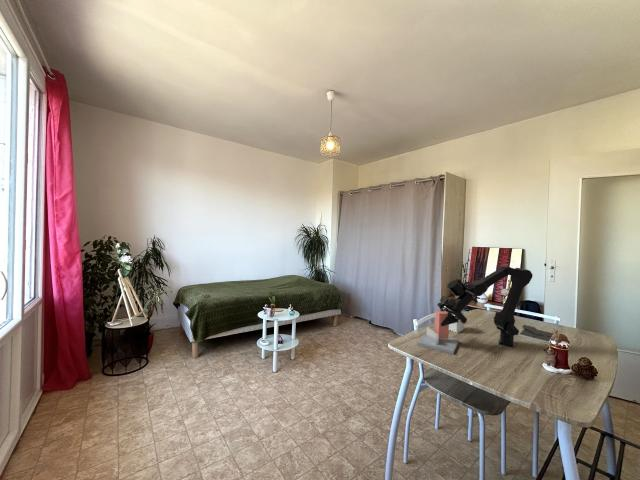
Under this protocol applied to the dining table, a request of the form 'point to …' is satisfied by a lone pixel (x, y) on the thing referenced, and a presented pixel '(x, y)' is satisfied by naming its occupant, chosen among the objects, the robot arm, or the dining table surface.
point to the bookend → (432, 335)
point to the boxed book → (439, 329)
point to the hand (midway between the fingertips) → (439, 324)
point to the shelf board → (439, 344)
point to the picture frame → (534, 334)
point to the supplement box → (456, 326)
